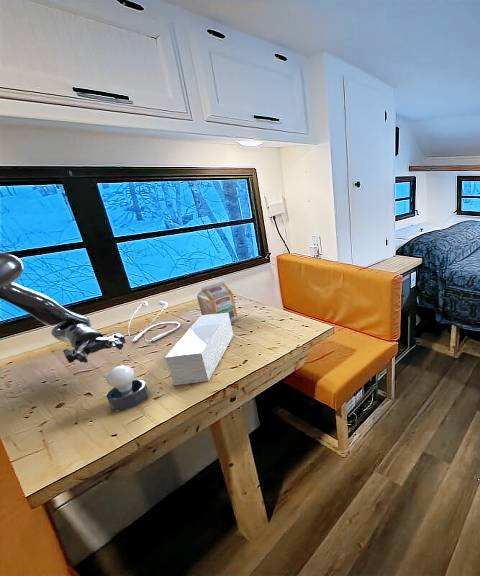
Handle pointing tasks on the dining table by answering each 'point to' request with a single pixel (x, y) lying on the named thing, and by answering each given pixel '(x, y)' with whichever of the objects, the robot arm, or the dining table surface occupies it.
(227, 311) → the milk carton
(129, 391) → the lightbulb
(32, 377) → the dining table surface
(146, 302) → the earphone
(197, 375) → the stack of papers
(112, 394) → the socket
